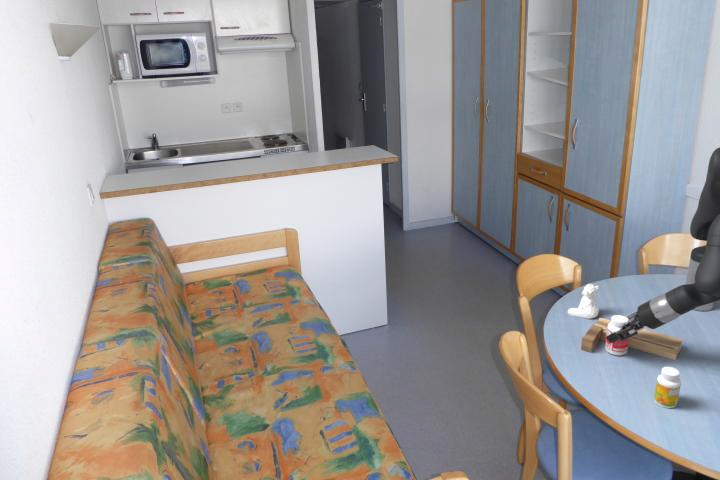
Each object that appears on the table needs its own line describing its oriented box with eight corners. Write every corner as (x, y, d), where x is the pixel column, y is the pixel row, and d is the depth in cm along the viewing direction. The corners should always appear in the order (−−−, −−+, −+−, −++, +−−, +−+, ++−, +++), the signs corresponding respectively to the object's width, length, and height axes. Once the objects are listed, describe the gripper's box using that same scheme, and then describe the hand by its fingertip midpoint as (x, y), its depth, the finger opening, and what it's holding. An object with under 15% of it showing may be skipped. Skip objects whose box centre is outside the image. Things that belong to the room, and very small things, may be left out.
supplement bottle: (649, 396, 147) (654, 366, 143) (668, 394, 147) (674, 364, 144) (661, 409, 142) (666, 378, 138) (681, 407, 142) (687, 376, 138)
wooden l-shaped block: (599, 325, 181) (600, 314, 180) (681, 347, 167) (683, 336, 165) (580, 349, 169) (582, 338, 167) (667, 376, 154) (669, 364, 153)
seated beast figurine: (583, 305, 194) (586, 275, 190) (605, 315, 188) (609, 283, 183) (566, 314, 190) (568, 282, 185) (588, 324, 183) (591, 291, 178)
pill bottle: (631, 351, 166) (635, 319, 162) (619, 358, 163) (623, 326, 159) (612, 342, 171) (616, 311, 167) (600, 349, 168) (604, 317, 164)
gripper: (657, 290, 161) (610, 315, 172) (644, 310, 151) (595, 335, 162) (674, 310, 159) (626, 334, 171) (663, 332, 149) (612, 356, 161)
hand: (611, 334), depth 166 cm, fingers closed on pill bottle, 6 cm apart
